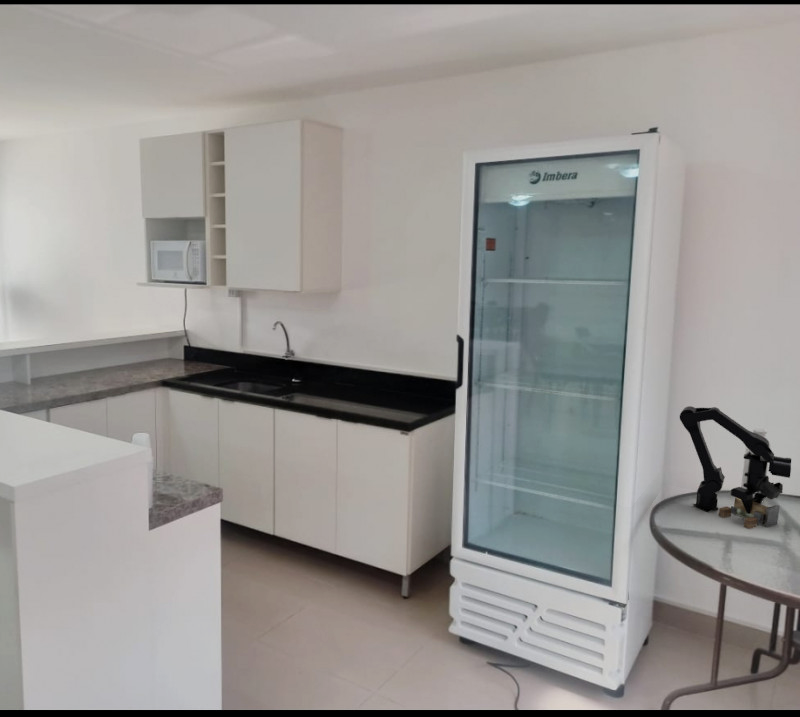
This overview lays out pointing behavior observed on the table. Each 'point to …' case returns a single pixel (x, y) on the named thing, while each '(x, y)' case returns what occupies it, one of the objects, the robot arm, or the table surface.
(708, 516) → the table surface
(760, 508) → the rail
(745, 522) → the pair of brown blocks
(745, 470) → the bottle
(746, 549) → the table surface
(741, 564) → the table surface
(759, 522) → the bracket
